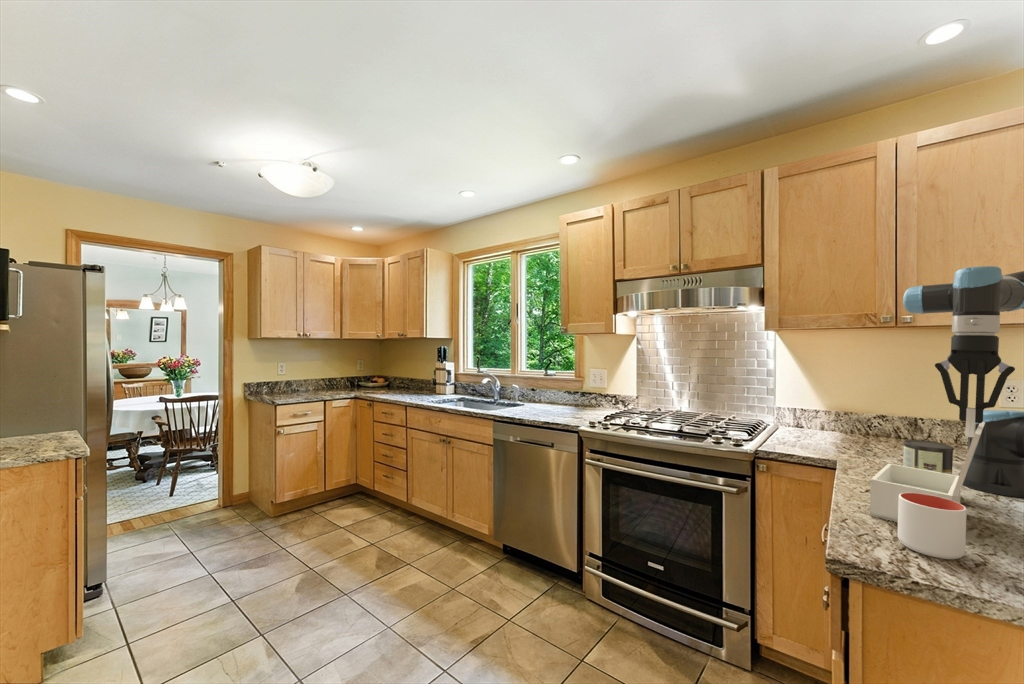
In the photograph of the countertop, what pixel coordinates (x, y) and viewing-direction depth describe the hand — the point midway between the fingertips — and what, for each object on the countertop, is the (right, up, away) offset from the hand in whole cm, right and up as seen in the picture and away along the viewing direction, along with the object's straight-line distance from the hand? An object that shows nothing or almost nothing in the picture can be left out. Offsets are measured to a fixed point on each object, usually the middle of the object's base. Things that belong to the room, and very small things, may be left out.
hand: (970, 436), depth 100 cm
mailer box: (-6, -21, +7) cm, 23 cm away
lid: (0, -5, 0) cm, 5 cm away
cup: (-20, -21, -11) cm, 31 cm away
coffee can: (+11, -21, +22) cm, 32 cm away
